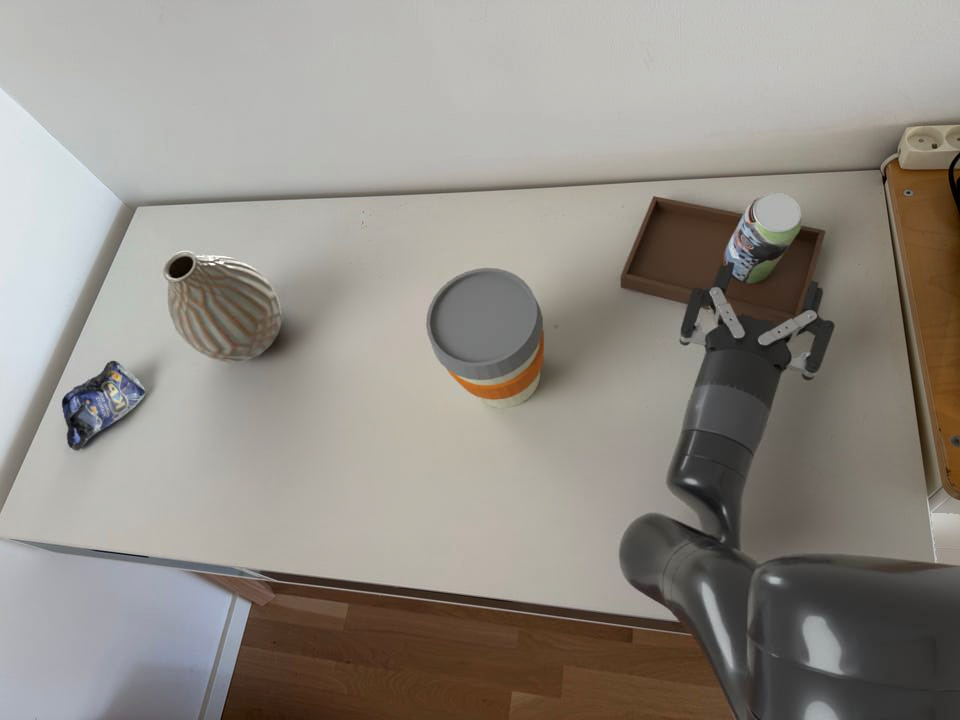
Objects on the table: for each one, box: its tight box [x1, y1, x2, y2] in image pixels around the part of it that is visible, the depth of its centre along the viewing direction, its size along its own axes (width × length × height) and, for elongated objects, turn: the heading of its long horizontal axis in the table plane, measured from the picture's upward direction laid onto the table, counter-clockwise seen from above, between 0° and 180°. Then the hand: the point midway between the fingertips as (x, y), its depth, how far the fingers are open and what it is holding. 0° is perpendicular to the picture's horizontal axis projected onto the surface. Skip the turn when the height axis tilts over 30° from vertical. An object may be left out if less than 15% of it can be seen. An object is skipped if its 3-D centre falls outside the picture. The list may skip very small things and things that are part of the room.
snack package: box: [61, 360, 147, 452], centre depth 90 cm, size 12×6×12 cm
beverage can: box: [722, 192, 803, 283], centre depth 75 cm, size 6×7×12 cm
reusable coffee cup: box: [425, 267, 545, 409], centre depth 75 cm, size 12×13×15 cm
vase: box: [162, 250, 283, 363], centre depth 85 cm, size 13×13×18 cm
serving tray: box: [620, 195, 826, 326], centre depth 81 cm, size 21×13×3 cm, turn 65°
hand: (770, 275), depth 70 cm, fingers open, 8 cm apart
